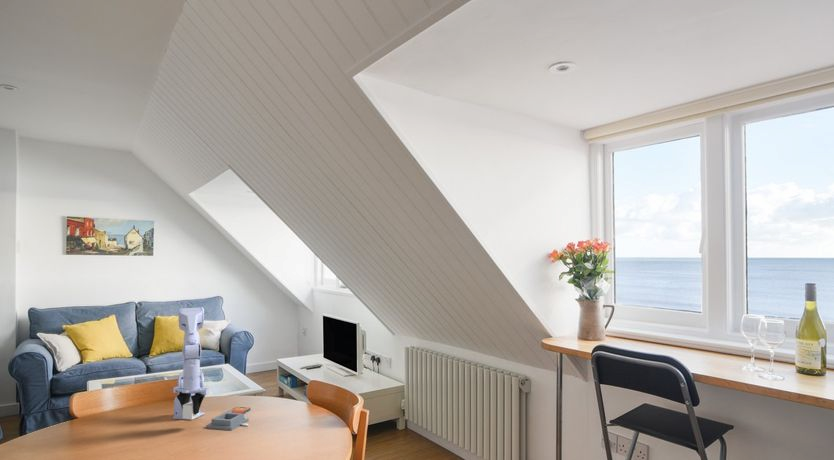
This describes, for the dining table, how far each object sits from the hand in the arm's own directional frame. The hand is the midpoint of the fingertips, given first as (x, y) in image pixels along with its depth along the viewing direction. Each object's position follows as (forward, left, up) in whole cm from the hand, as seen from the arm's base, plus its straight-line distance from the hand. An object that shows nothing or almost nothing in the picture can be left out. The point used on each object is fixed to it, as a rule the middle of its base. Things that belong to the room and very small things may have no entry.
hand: (191, 412), depth 186 cm
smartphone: (+6, +18, -6) cm, 20 cm away
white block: (0, 0, -2) cm, 2 cm away
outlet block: (+13, +7, -6) cm, 16 cm away
